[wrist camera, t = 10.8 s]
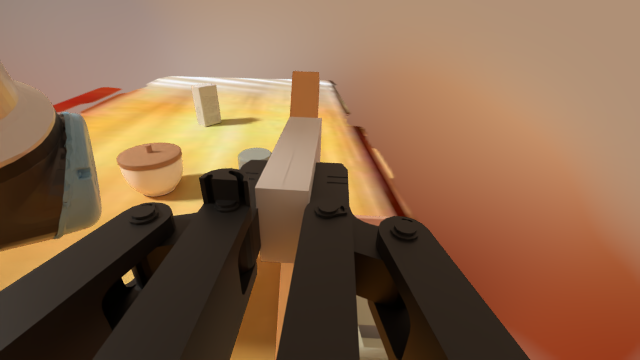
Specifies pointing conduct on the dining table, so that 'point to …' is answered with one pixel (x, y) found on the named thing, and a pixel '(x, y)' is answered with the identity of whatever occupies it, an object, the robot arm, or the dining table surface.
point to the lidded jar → (152, 168)
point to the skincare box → (206, 104)
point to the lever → (369, 338)
